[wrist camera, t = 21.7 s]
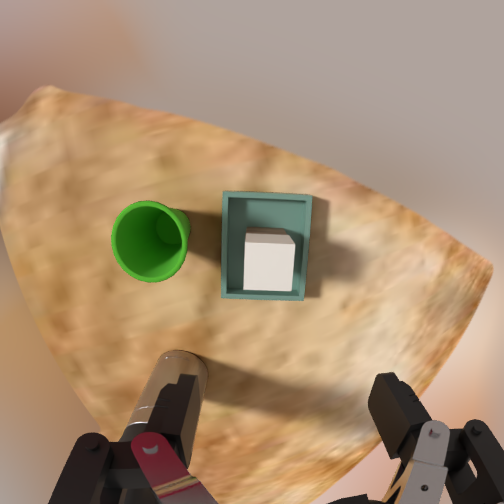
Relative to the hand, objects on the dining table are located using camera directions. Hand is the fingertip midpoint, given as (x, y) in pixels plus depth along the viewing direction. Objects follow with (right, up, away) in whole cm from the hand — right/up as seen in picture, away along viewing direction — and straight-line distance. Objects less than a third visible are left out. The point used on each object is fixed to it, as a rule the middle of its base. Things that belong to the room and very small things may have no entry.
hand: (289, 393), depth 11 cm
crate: (0, +7, +29) cm, 30 cm away
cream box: (0, +6, +23) cm, 24 cm away
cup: (-13, +10, +29) cm, 33 cm away
